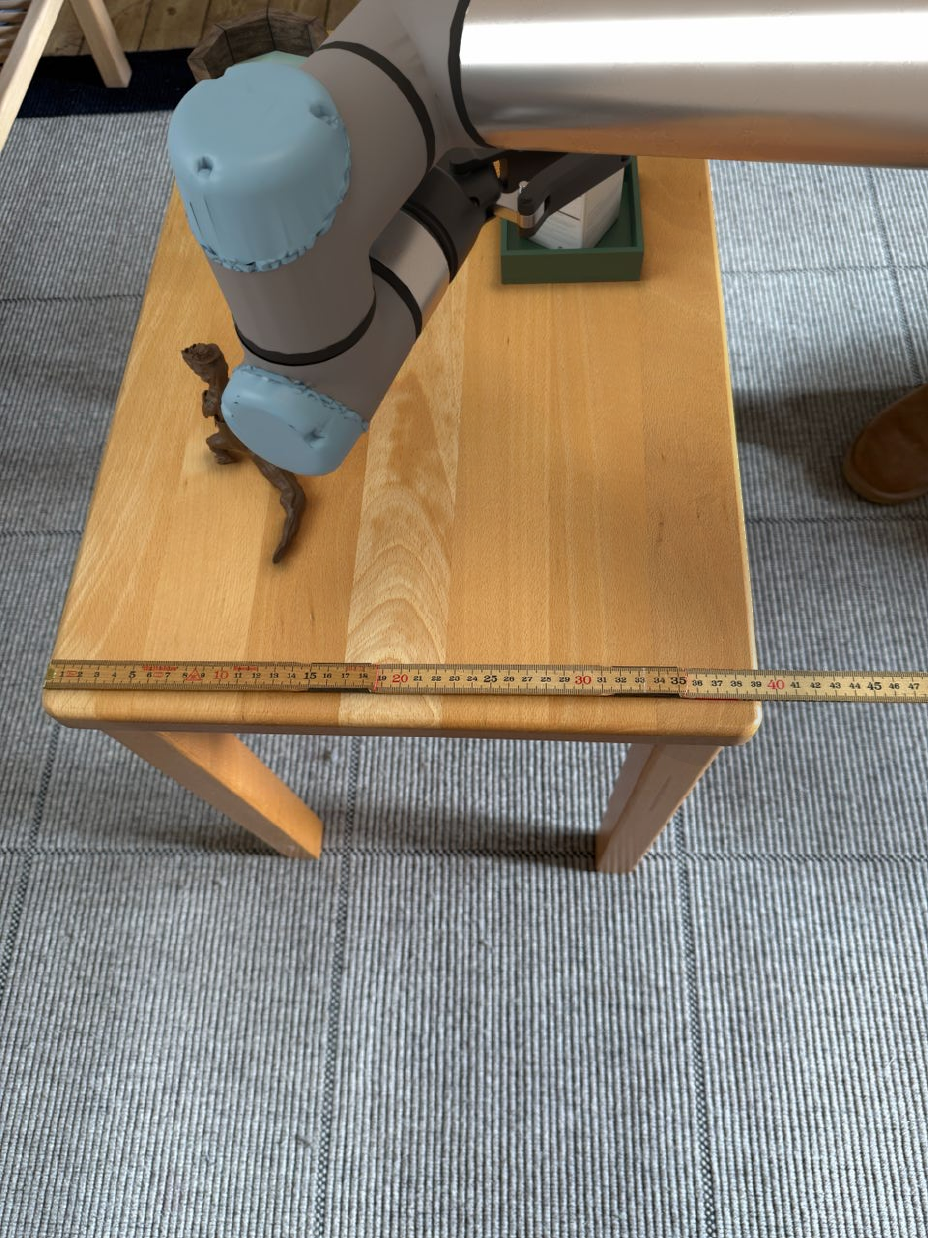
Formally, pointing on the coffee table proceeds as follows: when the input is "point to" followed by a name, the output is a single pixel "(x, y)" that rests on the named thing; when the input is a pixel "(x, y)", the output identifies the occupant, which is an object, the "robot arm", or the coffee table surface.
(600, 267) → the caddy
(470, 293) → the coffee table surface
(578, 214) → the white packaging box
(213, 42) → the mug
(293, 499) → the brown dinosaur figurine
